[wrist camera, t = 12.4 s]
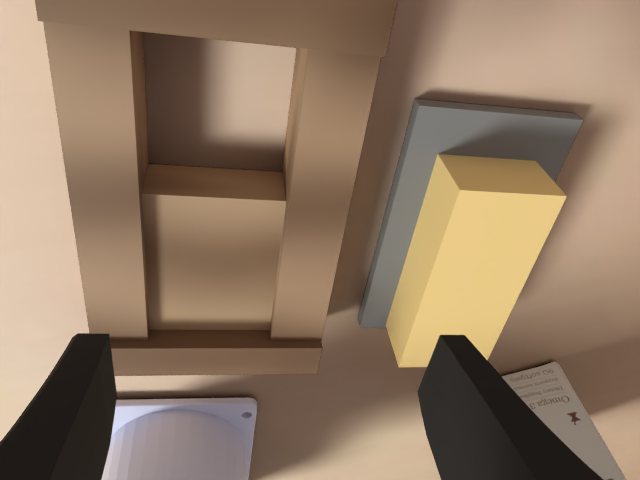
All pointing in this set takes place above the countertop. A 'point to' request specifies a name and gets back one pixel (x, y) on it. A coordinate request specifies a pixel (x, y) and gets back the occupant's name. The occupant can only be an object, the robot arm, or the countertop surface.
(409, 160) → the mat
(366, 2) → the pocket board
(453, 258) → the bar
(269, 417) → the countertop surface
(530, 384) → the supplement box
